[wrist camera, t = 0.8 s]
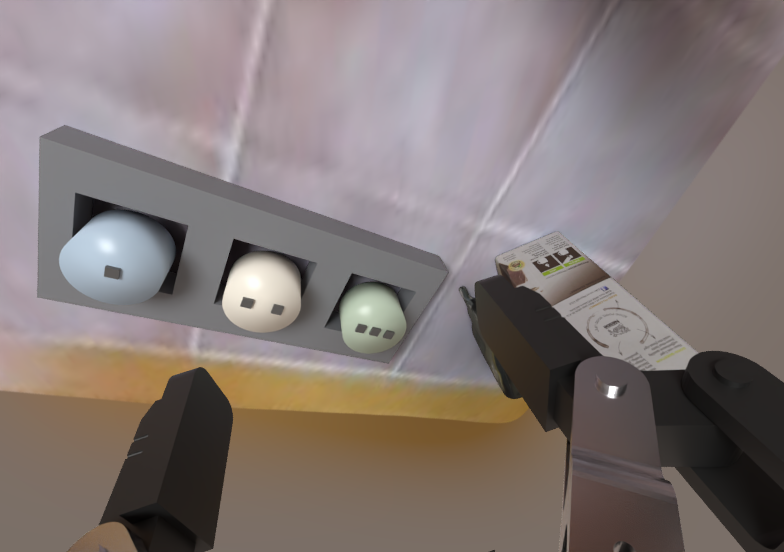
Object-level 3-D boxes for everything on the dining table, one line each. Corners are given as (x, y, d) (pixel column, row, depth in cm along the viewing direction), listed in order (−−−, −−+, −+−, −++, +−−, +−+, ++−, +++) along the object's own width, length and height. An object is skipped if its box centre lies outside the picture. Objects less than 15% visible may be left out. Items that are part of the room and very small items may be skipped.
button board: (57, 275, 26) (37, 297, 24) (64, 124, 21) (39, 136, 19) (383, 344, 36) (388, 363, 34) (439, 256, 31) (448, 272, 29)
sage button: (329, 321, 30) (332, 349, 28) (353, 274, 28) (358, 300, 26) (382, 333, 33) (389, 360, 30) (408, 290, 30) (418, 315, 28)
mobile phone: (535, 395, 39) (504, 310, 30) (510, 407, 39) (471, 327, 30) (513, 360, 43) (480, 275, 34) (490, 371, 43) (450, 290, 34)
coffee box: (491, 257, 33) (614, 414, 20) (558, 228, 32) (728, 369, 20) (506, 322, 38) (611, 477, 25) (564, 298, 38) (700, 443, 25)
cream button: (221, 296, 27) (213, 326, 24) (239, 241, 25) (232, 267, 22) (288, 311, 29) (287, 340, 26) (310, 262, 27) (311, 288, 24)
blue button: (82, 265, 23) (55, 295, 21) (87, 197, 21) (58, 222, 19) (169, 284, 26) (154, 314, 23) (182, 225, 23) (168, 250, 21)
